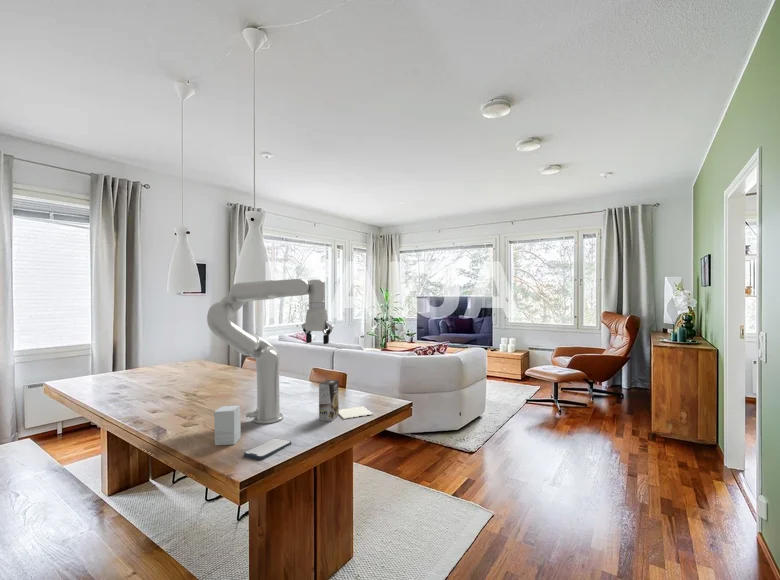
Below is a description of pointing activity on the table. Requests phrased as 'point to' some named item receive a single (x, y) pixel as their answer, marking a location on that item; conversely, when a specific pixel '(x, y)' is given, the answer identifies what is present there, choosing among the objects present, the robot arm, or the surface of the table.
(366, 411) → the cream mat
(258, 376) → the robot arm
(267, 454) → the phone case
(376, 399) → the table surface
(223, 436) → the supplement box
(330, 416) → the coffee box
